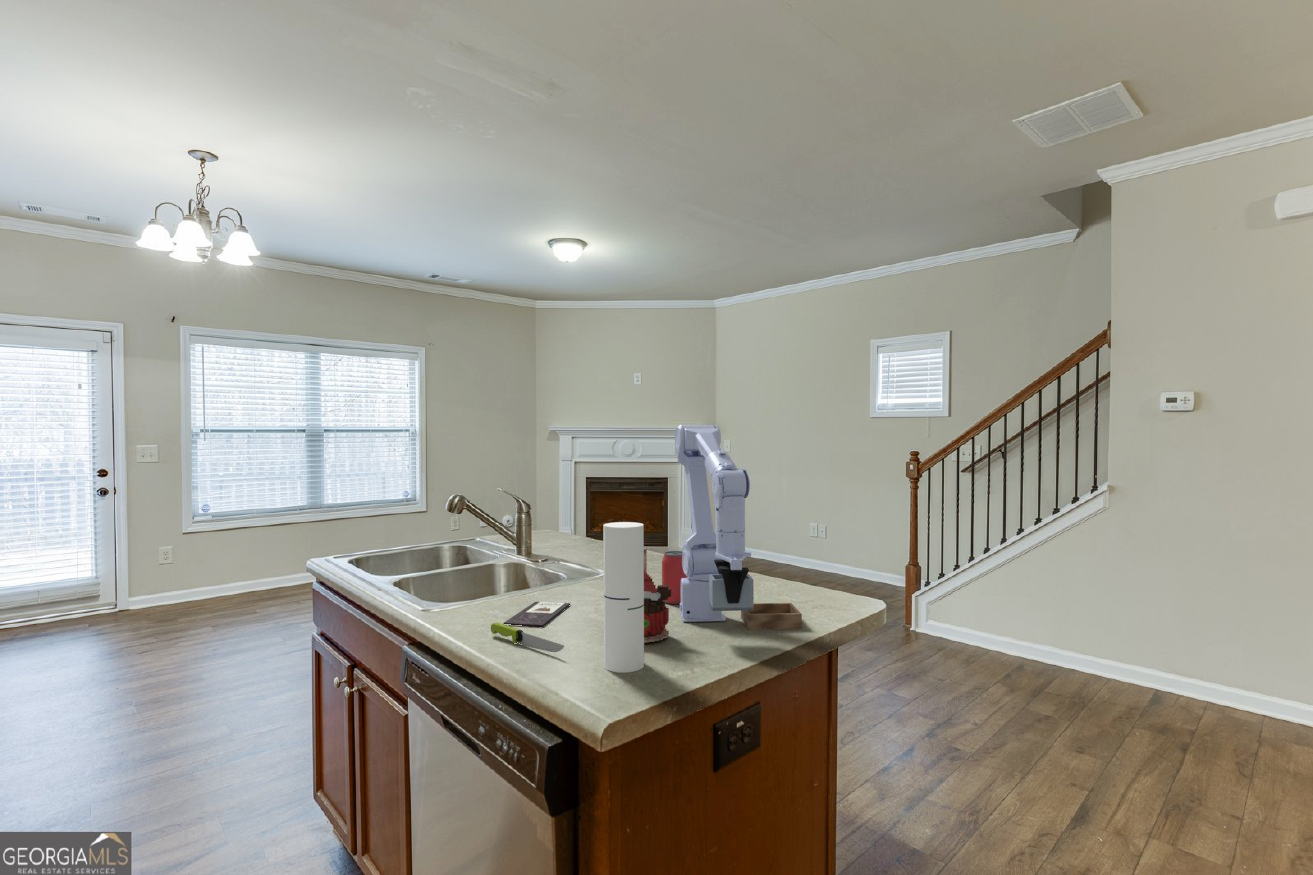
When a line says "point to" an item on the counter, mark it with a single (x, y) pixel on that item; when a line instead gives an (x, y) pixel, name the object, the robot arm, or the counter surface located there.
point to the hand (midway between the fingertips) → (730, 599)
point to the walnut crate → (772, 616)
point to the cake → (654, 608)
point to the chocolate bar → (537, 614)
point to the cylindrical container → (623, 596)
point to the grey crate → (719, 595)
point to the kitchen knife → (525, 638)
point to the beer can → (673, 575)
